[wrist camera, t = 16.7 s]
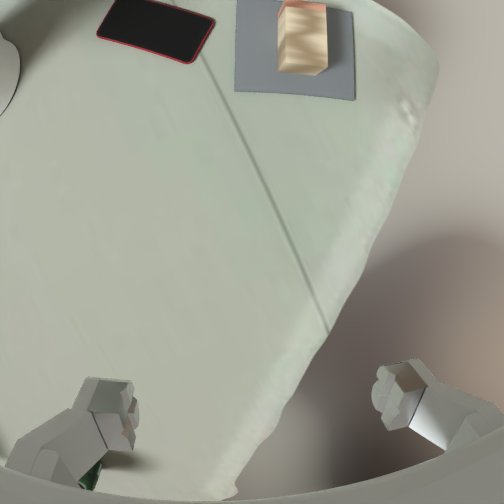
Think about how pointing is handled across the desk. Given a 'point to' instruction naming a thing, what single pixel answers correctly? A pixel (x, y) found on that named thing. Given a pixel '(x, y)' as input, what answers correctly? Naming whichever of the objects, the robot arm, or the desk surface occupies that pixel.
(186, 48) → the smartphone
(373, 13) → the desk surface
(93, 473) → the coffee jar
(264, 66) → the rubber mat
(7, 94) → the robot arm
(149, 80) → the desk surface
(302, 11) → the beech block
